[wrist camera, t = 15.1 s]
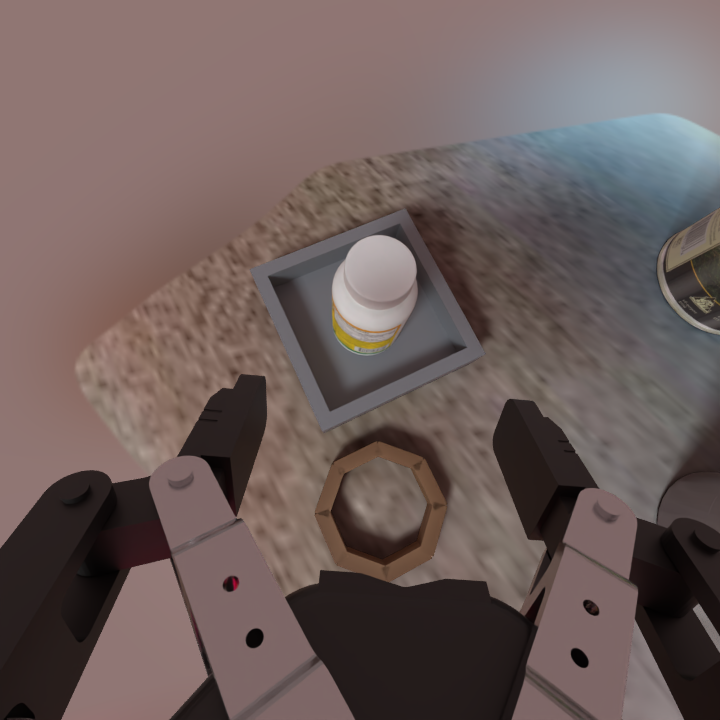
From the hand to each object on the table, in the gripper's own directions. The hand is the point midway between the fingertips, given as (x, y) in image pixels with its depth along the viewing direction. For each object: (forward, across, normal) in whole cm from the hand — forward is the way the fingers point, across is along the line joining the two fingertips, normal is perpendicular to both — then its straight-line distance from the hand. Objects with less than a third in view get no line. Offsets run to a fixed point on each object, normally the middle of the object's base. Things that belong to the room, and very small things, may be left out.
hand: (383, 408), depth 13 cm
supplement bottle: (+17, 0, +6) cm, 18 cm away
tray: (+18, 0, +6) cm, 19 cm away
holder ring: (+8, -2, +16) cm, 18 cm away
